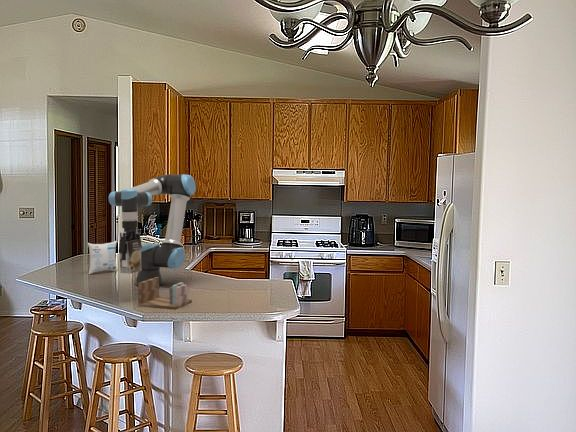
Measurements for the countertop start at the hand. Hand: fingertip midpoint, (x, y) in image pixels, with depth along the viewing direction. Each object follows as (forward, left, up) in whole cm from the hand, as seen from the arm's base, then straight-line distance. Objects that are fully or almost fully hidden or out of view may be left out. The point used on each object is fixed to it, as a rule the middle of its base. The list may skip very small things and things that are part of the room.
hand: (130, 264), depth 275 cm
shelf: (+2, +21, -18) cm, 28 cm away
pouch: (-57, -59, -18) cm, 84 cm away
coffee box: (0, 0, -4) cm, 4 cm away
